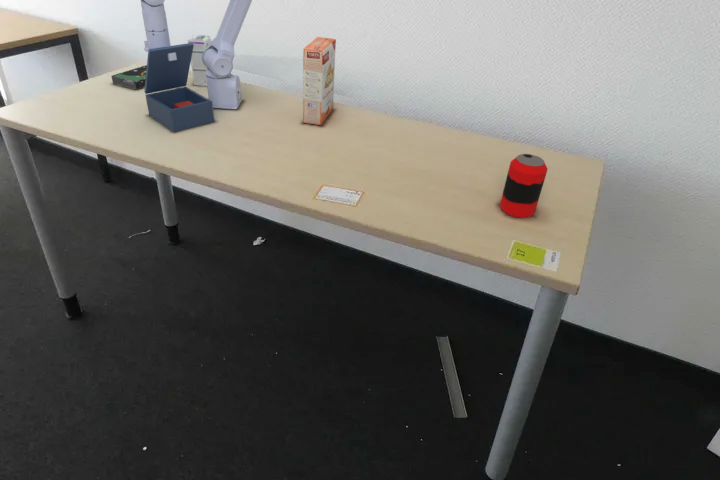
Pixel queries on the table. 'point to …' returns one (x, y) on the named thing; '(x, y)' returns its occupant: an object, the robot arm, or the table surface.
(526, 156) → the soda can
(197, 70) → the syrup box
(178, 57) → the lid
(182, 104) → the block
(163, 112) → the toy box
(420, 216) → the table surface
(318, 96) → the cracker box
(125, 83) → the disk drive
